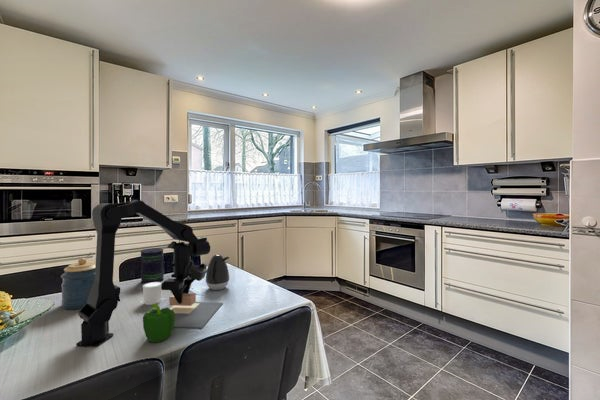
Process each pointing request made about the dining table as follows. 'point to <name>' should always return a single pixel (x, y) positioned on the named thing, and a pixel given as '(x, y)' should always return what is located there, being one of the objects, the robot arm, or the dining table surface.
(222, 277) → the pump dispenser
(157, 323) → the bell pepper
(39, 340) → the dining table surface
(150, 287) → the white cup
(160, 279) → the storage jar
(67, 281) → the canister
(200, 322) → the rubber mat
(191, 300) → the flat block
